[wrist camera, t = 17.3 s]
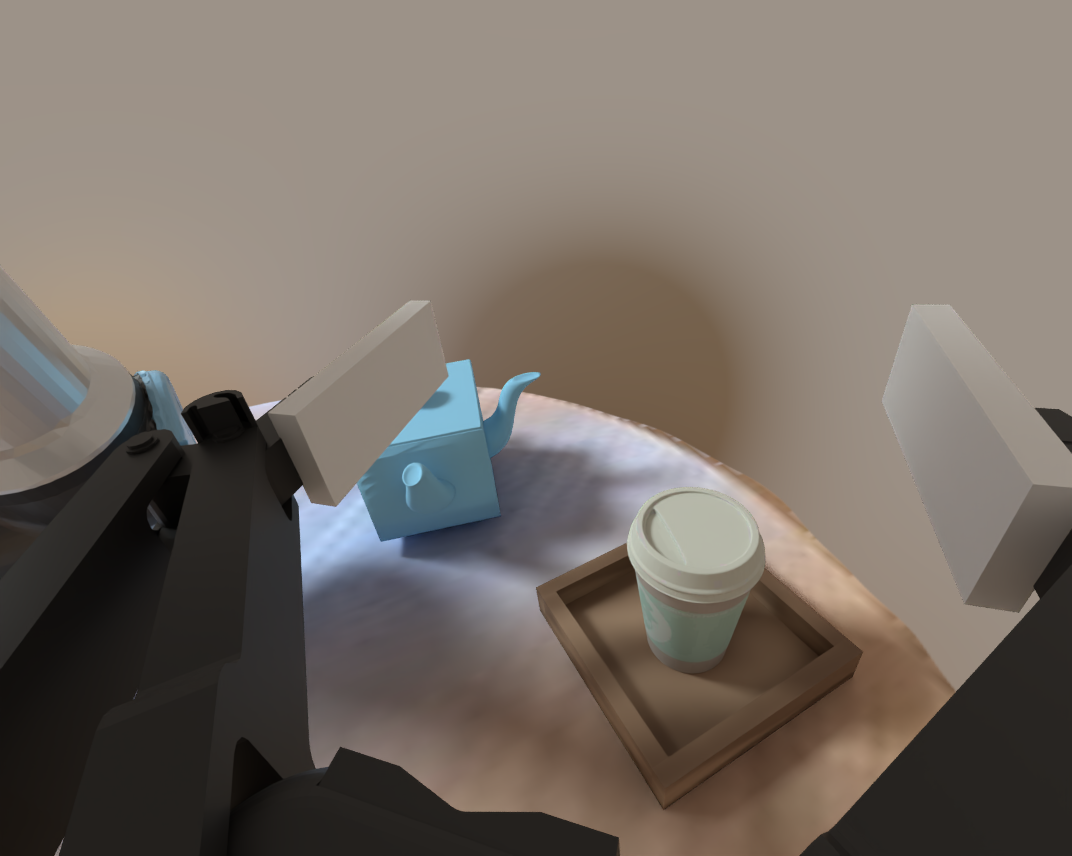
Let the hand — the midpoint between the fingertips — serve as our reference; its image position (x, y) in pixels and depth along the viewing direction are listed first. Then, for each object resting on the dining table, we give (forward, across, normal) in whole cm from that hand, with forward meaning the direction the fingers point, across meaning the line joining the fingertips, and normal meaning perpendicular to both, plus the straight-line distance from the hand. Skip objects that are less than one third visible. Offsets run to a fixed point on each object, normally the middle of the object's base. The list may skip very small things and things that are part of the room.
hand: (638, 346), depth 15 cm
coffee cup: (+11, +2, -30) cm, 32 cm away
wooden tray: (+11, +2, -30) cm, 32 cm away
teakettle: (+22, -24, -31) cm, 45 cm away
